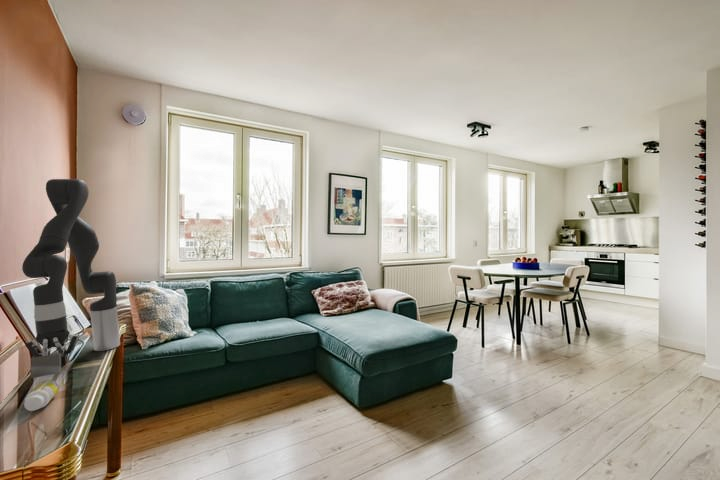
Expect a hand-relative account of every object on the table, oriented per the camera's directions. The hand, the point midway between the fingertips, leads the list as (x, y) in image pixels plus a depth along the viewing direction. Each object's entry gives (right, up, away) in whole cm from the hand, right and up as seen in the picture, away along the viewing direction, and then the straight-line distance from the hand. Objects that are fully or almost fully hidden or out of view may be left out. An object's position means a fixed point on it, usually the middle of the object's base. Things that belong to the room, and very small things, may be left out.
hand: (56, 367), depth 111 cm
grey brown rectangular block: (+1, -1, -1) cm, 2 cm away
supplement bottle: (+3, -4, -6) cm, 8 cm away
